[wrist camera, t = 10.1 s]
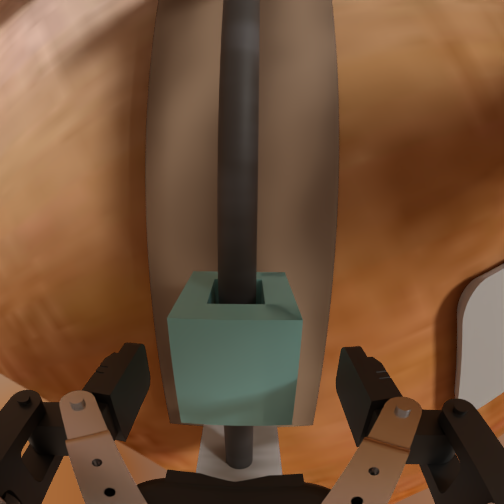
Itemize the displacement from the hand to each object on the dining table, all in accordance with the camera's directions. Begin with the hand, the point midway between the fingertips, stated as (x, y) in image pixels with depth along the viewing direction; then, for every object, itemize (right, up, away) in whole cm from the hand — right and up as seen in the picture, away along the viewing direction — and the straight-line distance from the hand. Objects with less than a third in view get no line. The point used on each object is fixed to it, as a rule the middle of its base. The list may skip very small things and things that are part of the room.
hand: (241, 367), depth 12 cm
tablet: (+32, -1, +12) cm, 34 cm away
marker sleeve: (0, +1, +4) cm, 5 cm away
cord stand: (0, +10, +8) cm, 13 cm away
